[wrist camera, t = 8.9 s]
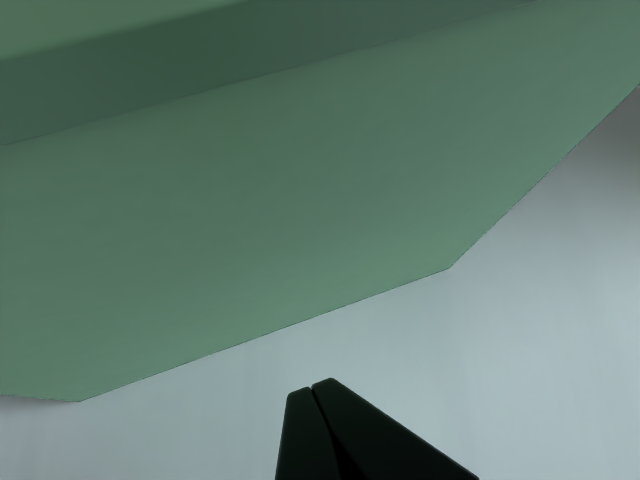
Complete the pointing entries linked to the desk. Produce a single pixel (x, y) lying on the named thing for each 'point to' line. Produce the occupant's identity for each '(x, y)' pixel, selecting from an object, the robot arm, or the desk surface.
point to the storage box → (265, 161)
